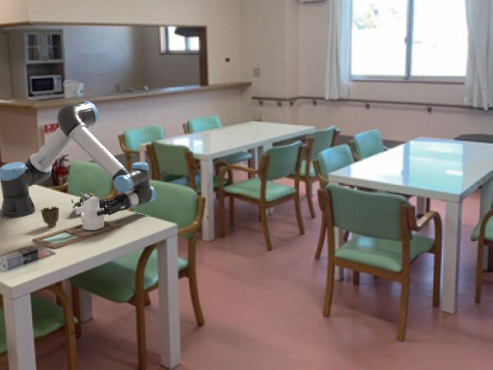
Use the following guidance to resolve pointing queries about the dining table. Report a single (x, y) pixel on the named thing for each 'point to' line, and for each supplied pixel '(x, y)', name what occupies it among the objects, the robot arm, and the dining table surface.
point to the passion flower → (83, 199)
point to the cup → (50, 216)
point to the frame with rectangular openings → (63, 238)
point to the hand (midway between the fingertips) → (82, 213)
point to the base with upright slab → (88, 207)
